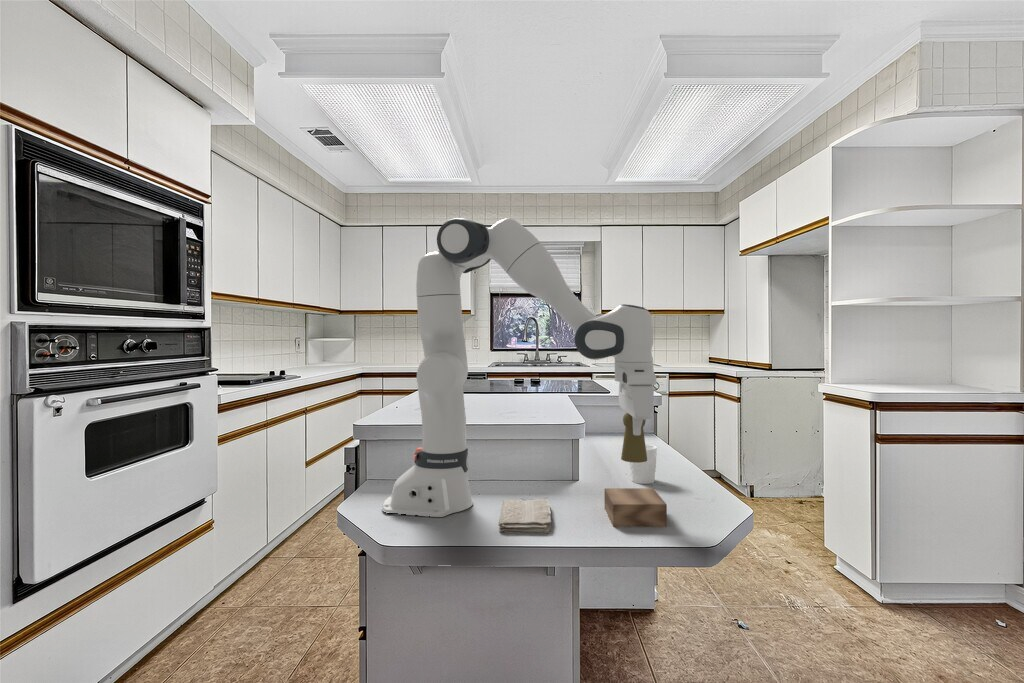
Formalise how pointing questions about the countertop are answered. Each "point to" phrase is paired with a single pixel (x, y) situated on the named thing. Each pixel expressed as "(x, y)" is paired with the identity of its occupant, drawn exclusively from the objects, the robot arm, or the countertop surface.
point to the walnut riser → (635, 507)
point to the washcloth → (525, 516)
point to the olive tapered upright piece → (633, 442)
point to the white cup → (645, 467)
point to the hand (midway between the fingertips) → (633, 432)
